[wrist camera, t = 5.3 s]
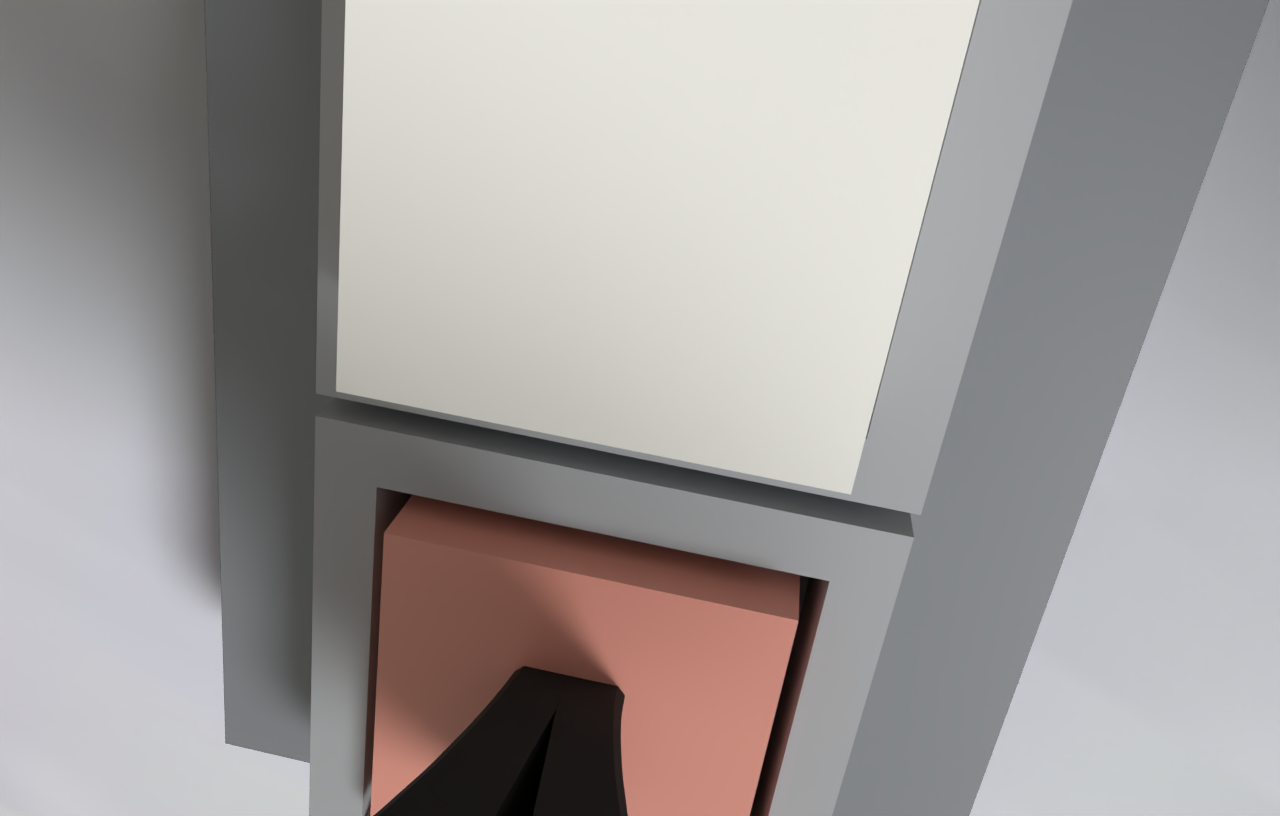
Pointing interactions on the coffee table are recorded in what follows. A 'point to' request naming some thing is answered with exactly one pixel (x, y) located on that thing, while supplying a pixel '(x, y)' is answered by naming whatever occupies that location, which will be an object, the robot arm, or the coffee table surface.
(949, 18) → the white key
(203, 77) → the coffee table surface
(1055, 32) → the key panel
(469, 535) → the salmon pink key
